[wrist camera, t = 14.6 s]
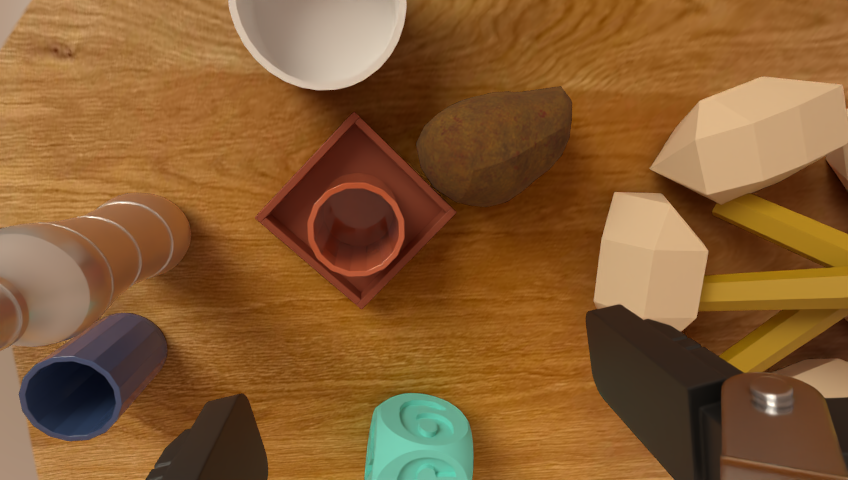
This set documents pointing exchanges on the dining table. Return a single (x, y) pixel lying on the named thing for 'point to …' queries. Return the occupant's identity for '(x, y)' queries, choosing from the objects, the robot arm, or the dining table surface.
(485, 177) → the potato
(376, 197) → the terracotta cup
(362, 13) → the saucepan
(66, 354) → the blue cup
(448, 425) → the decorative dice
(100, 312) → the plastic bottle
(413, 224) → the rust tray
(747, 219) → the campfire
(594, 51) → the dining table surface
